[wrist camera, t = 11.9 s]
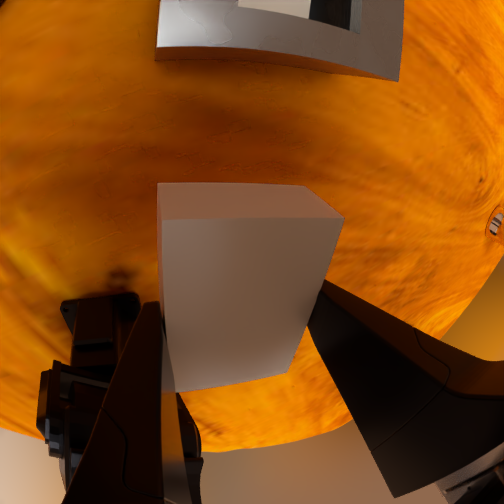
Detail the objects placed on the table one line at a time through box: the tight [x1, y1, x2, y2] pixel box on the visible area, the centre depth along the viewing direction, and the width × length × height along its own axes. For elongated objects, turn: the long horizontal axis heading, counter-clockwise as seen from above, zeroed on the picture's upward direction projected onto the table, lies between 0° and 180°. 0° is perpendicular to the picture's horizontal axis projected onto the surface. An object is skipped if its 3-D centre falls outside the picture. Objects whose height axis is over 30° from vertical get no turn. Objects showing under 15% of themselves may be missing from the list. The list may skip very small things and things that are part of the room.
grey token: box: [157, 182, 345, 393], centre depth 8 cm, size 6×4×2 cm, turn 171°
